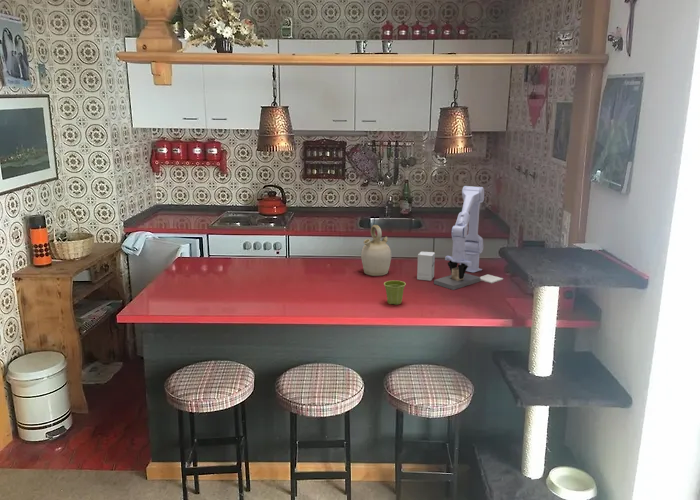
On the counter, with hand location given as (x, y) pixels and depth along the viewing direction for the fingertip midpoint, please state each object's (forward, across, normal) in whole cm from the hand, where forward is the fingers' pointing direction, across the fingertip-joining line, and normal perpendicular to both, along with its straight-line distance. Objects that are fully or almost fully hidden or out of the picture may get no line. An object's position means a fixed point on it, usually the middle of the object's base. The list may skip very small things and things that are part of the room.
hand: (457, 277), depth 282 cm
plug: (+3, 0, 0) cm, 3 cm away
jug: (+3, -38, -18) cm, 42 cm away
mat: (+3, +7, +16) cm, 18 cm away
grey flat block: (+3, 0, 0) cm, 3 cm away
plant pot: (+3, 0, -42) cm, 42 cm away
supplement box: (+3, -15, -6) cm, 16 cm away
